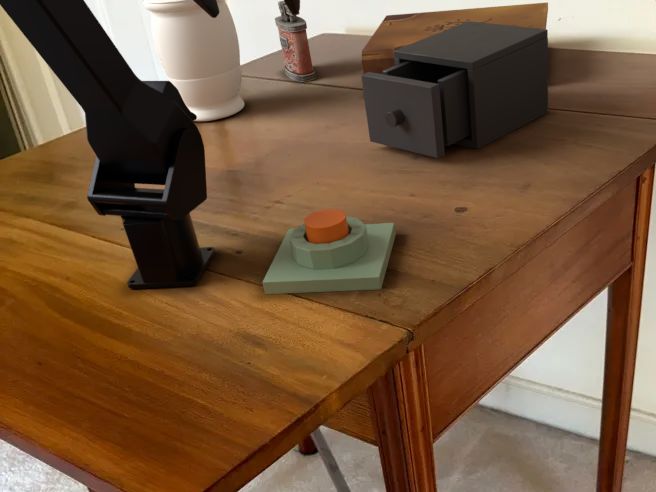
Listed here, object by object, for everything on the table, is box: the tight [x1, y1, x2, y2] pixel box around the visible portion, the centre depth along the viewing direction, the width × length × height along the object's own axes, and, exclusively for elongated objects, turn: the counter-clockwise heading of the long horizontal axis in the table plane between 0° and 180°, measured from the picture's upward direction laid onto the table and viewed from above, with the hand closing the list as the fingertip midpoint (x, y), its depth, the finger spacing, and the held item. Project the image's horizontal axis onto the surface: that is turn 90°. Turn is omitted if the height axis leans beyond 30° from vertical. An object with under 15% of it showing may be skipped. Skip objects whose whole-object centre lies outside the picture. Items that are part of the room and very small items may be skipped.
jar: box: [142, 0, 246, 122], centre depth 107 cm, size 11×10×15 cm
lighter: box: [274, 0, 317, 83], centre depth 118 cm, size 8×3×10 cm, turn 25°
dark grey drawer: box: [360, 60, 471, 159], centre depth 90 cm, size 13×10×7 cm
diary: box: [361, 2, 549, 74], centre depth 111 cm, size 23×19×6 cm
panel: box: [262, 215, 397, 295], centre depth 72 cm, size 10×10×3 cm
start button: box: [303, 208, 349, 244], centre depth 70 cm, size 4×4×2 cm
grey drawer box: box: [394, 21, 549, 150], centre depth 93 cm, size 13×12×9 cm
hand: (255, 14), depth 81 cm, fingers open, 9 cm apart
